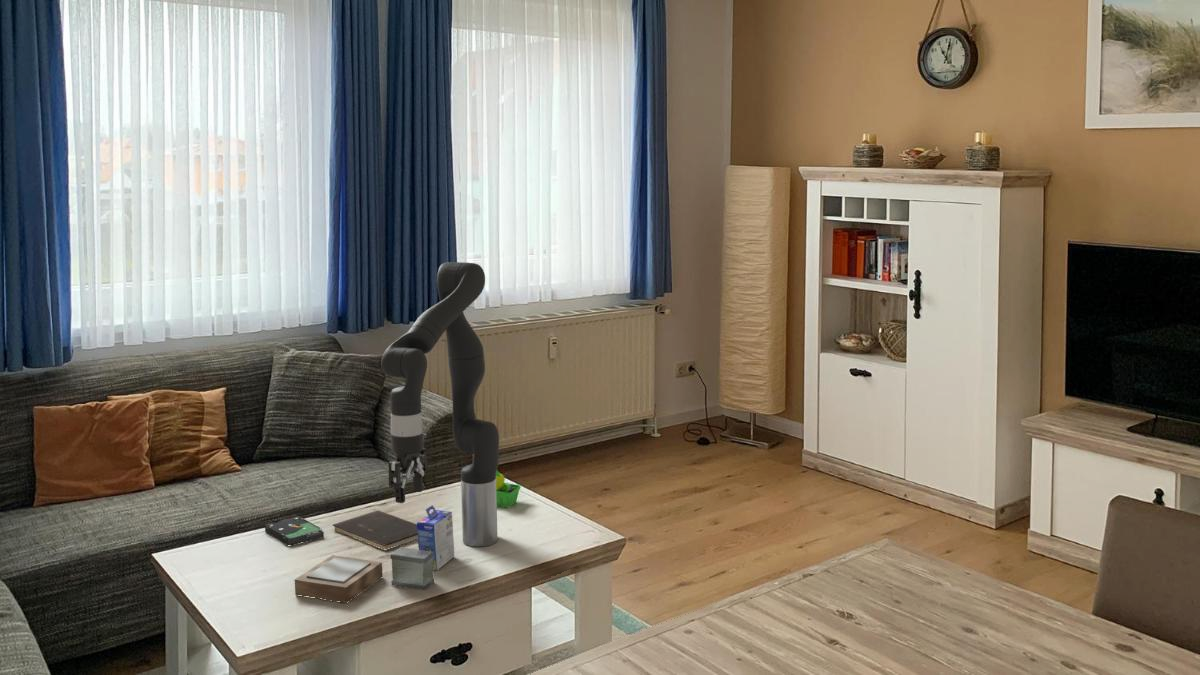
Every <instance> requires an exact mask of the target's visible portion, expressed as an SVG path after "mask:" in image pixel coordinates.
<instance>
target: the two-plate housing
mask: <svg viewBox="0 0 1200 675" xmlns="http://www.w3.org/2000/svg"><path fill="white" fill-rule="evenodd" d="M389 556H390V560H391V570H392V572H391V574H392V579H391V586H392V585H396V586H395V587H399V586H401V588H405V587H407V589H412V588H413V590H418V591H419V590H420V591H427V589H428V588H430V587H432V585H433V584H435V577H434V570H433V557H434V553H433V552H432V551H424V550H419V549H417V548H409V547H401V546H399V548H397V549H396V550H395V551H393V552H392V553H390V555H389Z"/></svg>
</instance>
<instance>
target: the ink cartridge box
mask: <svg viewBox="0 0 1200 675" xmlns="http://www.w3.org/2000/svg"><path fill="white" fill-rule="evenodd" d="M431 510H433V511H431ZM430 511H431V512H430ZM425 512H426V516H424V518H422V519H420V520H419V521H418V522H416V524H417V533H418V539H417V543H418V546H417V547H418V550H424V551H432V552H433V553H434V557H433V571H439V569H441V567H443V566H444V565H445V564H446V563H448V562H449V561H450V560H452V559H453V558H454V557H455V543H454V525H453V511H447V510H439V509H436V508H435V507H434V505H431V506H429V507H428V508H426V509H425Z"/></svg>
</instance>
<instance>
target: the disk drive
mask: <svg viewBox="0 0 1200 675" xmlns="http://www.w3.org/2000/svg"><path fill="white" fill-rule="evenodd" d="M264 531H265V533H266V534H268V535H270V536H271V537H272V538H275V539H276V540H279V541H280V542H281V541H282V543H283V542H284V543H285V544H284V543H283V544H284V545H286V544H287V545H286V546H288V545H293V546H295V545H294V544H297V545H299V544H298V543H301V542H304V543H307V542H306V541H308V542H311V541H310V540H312V541H315V540H318V538H319V539H322V538H321V537H323V538H324V537H325V535H324V534H325V533H324V532H325V531H323V529H322V528H321V527H319V526H317V525H316V524H314V523H313V522H310V521H308V520H307V519H305V518H303V517H302V516H299V515H297V516H294V517H290V518H285V519H280V520H279V521H277V522H269V523H265V524H264ZM314 539H315V540H314ZM301 544H302V543H301Z"/></svg>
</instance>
